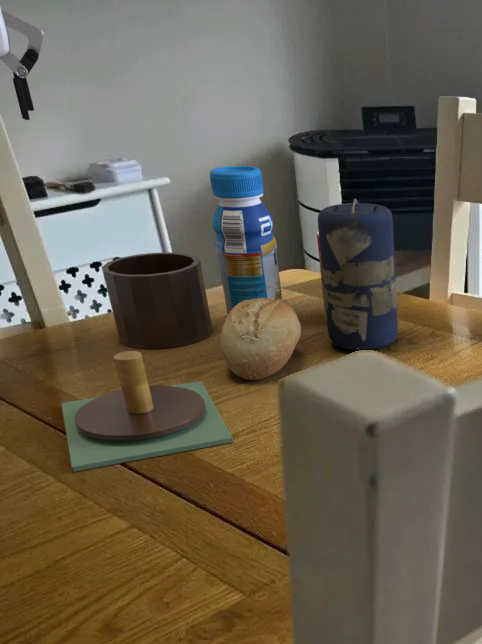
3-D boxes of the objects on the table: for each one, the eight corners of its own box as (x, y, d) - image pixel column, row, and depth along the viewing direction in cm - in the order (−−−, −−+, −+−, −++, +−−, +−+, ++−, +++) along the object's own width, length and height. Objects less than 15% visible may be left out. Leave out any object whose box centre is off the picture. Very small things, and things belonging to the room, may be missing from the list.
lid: (82, 455, 84) (61, 387, 80) (73, 407, 94) (54, 345, 90) (217, 431, 88) (205, 365, 84) (194, 388, 98) (182, 327, 94)
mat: (73, 472, 82) (71, 466, 82) (62, 407, 96) (61, 402, 95) (233, 442, 87) (232, 437, 87) (202, 385, 101) (201, 380, 100)
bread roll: (311, 343, 113) (304, 283, 108) (295, 384, 101) (286, 318, 96) (241, 344, 113) (231, 284, 108) (216, 385, 101) (204, 319, 96)
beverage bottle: (217, 321, 121) (190, 169, 110) (267, 309, 126) (246, 162, 114) (246, 334, 116) (221, 176, 104) (297, 321, 121) (279, 169, 109)
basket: (125, 354, 110) (107, 280, 104) (115, 327, 119) (98, 258, 114) (219, 340, 114) (207, 269, 109) (203, 315, 124) (190, 248, 118)
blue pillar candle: (318, 352, 110) (302, 205, 99) (342, 330, 117) (330, 190, 107) (387, 357, 108) (378, 207, 97) (407, 334, 115) (401, 193, 105)
